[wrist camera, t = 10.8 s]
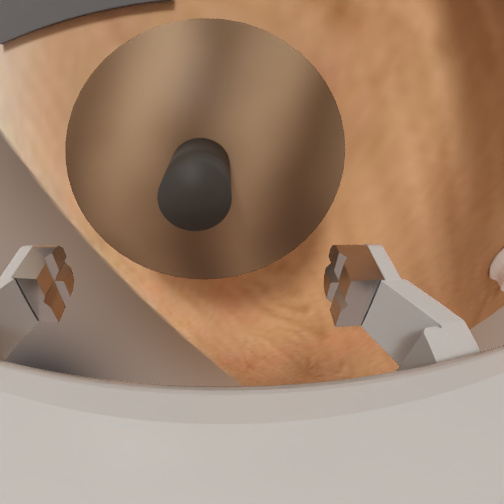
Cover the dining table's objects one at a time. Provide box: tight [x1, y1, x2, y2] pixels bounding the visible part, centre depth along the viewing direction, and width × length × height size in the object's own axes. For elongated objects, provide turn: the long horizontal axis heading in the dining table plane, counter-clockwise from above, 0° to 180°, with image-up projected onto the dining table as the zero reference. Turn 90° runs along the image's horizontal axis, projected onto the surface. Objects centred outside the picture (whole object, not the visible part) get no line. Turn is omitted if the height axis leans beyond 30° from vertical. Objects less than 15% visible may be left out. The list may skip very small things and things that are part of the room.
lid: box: [66, 18, 345, 279], centre depth 15 cm, size 16×16×5 cm
